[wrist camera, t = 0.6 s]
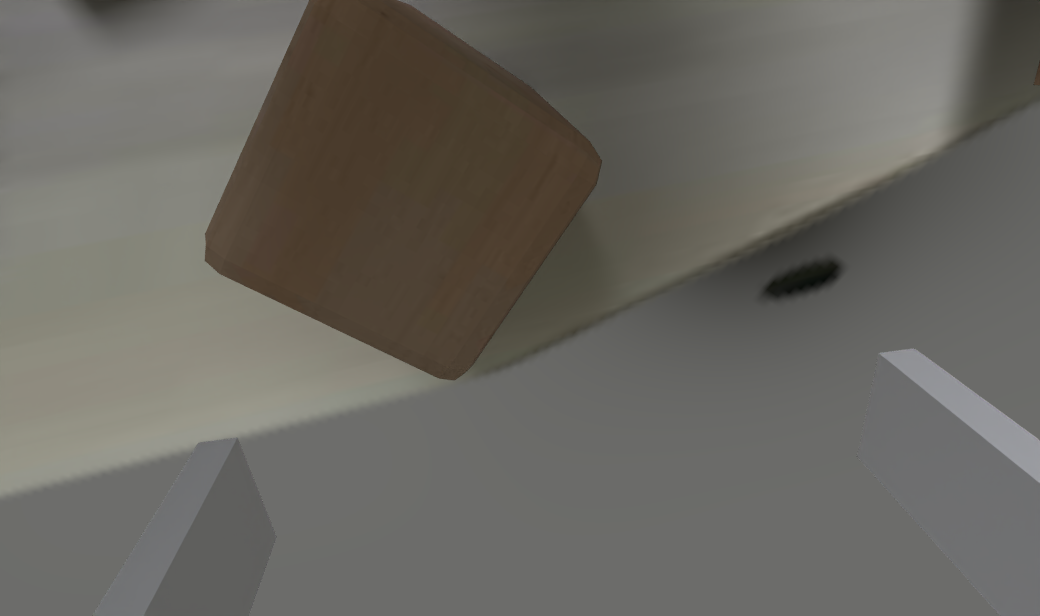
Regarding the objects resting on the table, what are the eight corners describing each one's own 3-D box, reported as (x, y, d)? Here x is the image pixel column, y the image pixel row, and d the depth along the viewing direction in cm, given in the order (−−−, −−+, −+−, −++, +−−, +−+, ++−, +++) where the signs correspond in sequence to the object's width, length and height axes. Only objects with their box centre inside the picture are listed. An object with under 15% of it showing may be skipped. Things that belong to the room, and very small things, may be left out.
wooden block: (542, 95, 36) (622, 164, 18) (460, 229, 39) (458, 400, 21) (396, -5, 33) (317, -40, 15) (319, 148, 36) (181, 269, 18)
